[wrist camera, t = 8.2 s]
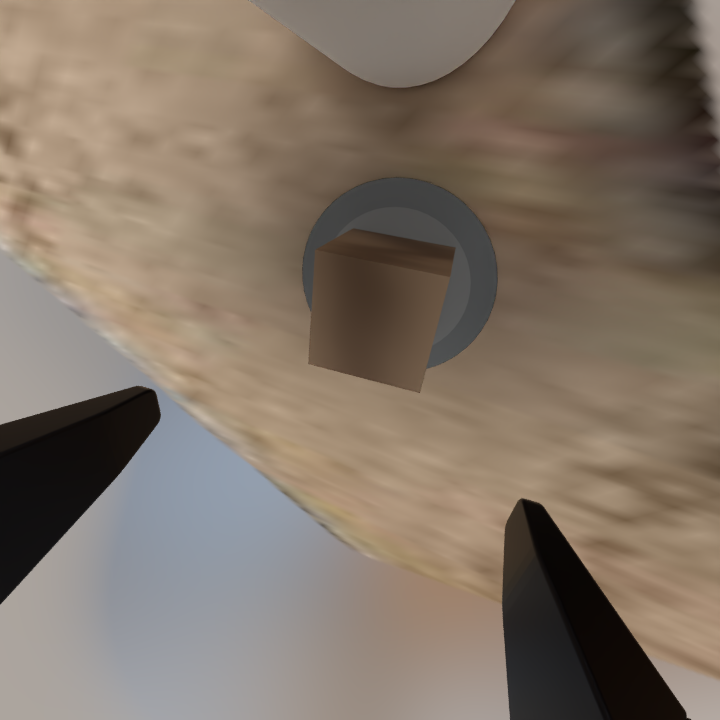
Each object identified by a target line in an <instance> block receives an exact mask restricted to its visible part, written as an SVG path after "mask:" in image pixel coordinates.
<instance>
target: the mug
mask: <svg viewBox="0 0 720 720" xmlns="http://www.w3.org/2000/svg"><path fill="white" fill-rule="evenodd" d="M249 1H250V2H252V3H253V4H255V5H256V6H257V7H259V8H260V9H261V10H263V11H264V12H266V13H267V14H268V15H270V16H271V17H273V18H274V19H275V20H277V21H278V22H280V23H281V24H282V25H284V26H285V27H287V28H288V29H289V30H291V31H292V32H294V33H295V34H296V35H298V36H299V37H301V38H302V39H303V40H305V41H306V42H307V43H309V44H310V45H312V46H313V47H314V48H316V49H317V50H319V51H320V52H321V53H323V54H324V55H326V56H327V57H328V58H330V59H331V60H333V61H334V62H335V63H337V64H338V65H340V66H341V67H342V68H344V69H345V70H347V71H348V72H350V73H351V74H353V75H355V76H357V77H359V78H361V79H363V80H365V81H367V82H370V83H373V84H376V85H379V86H385V87H391V88H407V87H413V86H419V85H423V84H426V83H429V82H432V81H435V80H437V79H439V78H441V77H443V76H445V75H447V74H449V73H451V72H452V71H454V70H455V69H457V68H458V67H459V66H461V65H462V64H464V63H465V62H466V61H467V60H468V59H469V58H471V57H472V56H473V55H474V54H475V53H476V52H477V51H478V50H479V49H480V48H481V47H482V46H483V45H484V44H485V43H486V42H487V41H488V40H489V38H490V37H491V36H492V35H493V34H494V32H495V31H496V30H497V28H498V27H499V26H500V24H501V23H502V22H503V20H504V19H505V17H506V15H507V14H508V12H509V10H510V9H511V7H512V6H513V4H514V2H515V1H516V0H249Z"/></svg>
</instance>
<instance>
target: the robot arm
mask: <svg viewBox="0 0 720 720" xmlns="http://www.w3.org/2000/svg"><path fill="white" fill-rule="evenodd" d="M160 417H161V414H160V408H159V404H158V399H157V395H156V392H155V391H154V390H152V389H149V388H146V387H142V386H135V387H131V388H128V389H124V390H121V391H117V392H114V393H110V394H107V395H103V396H100V397H96V398H93V399H89V400H86V401H82V402H79V403H75V404H72V405H68V406H65V407H61V408H58V409H54V410H50V411H47V412H44V413H40V414H37V415H33V416H30V417H26V418H22V419H19V420H15V421H12V422H8V423H5V424H2V425H0V604H1V603H2V602H3V601H4V600H5V599H6V598H7V597H8V596H9V595H10V594H11V592H12V591H13V590H14V589H15V588H16V587H17V586H18V585H19V584H20V583H21V581H22V580H23V579H24V578H25V577H26V576H27V575H28V574H29V573H30V572H31V571H32V569H33V568H34V567H35V566H36V565H37V564H38V563H39V561H41V559H42V558H43V557H44V556H45V555H46V554H47V553H48V552H49V551H50V550H51V549H52V547H53V546H54V545H55V544H56V543H57V542H58V541H59V540H60V539H61V538H62V536H63V535H64V534H65V533H66V532H67V531H68V530H69V529H70V528H71V527H72V526H73V525H74V523H75V522H76V521H77V520H78V519H79V518H80V517H81V516H82V515H83V514H84V512H85V511H86V510H87V509H88V508H89V507H90V506H91V505H92V504H93V503H94V501H95V500H96V499H97V498H98V497H99V496H100V495H101V494H102V493H103V492H104V491H105V489H106V488H107V487H108V486H109V485H110V484H111V483H112V482H113V481H114V480H115V478H116V477H117V476H118V475H119V474H120V473H121V471H122V470H123V469H124V468H125V466H126V465H127V464H128V462H129V461H130V460H131V459H132V457H133V456H134V455H135V453H136V452H137V451H138V449H139V448H140V446H141V445H142V444H143V443H144V441H145V440H146V439H147V437H148V436H149V435H150V434H151V432H152V431H153V430H154V428H155V427H156V425H157V424H158V423H159V421H160ZM502 611H503V628H504V641H505V655H506V668H507V683H508V697H509V711H510V720H691V719H689V718H686V717H687V715H686V712H685V710H684V708H683V707H682V706H681V704H680V703H679V701H678V700H677V698H676V697H675V695H674V694H673V693H672V691H671V690H670V689H669V687H668V685H667V684H666V683H665V681H664V680H663V678H662V677H661V676H660V674H659V672H658V671H657V670H656V668H655V667H654V665H653V664H652V662H651V661H650V660H649V658H648V657H647V655H646V654H645V652H644V651H643V649H642V648H641V646H640V645H639V644H638V642H637V641H636V639H635V638H634V636H633V635H632V633H631V632H630V631H629V629H628V628H627V626H626V625H625V623H624V622H623V620H622V619H621V618H620V616H619V615H618V613H617V612H616V610H615V609H614V607H613V606H612V605H611V603H610V602H609V600H608V599H607V597H606V596H605V595H604V593H603V592H602V590H601V589H600V587H599V586H598V584H597V583H596V582H595V580H594V579H593V577H592V576H591V574H590V573H589V571H588V570H587V569H586V567H585V566H584V564H583V563H582V561H581V560H580V558H579V557H578V556H577V554H576V553H575V551H574V550H573V548H572V547H571V545H570V544H569V543H568V541H567V540H566V538H565V537H564V535H563V534H562V532H561V531H560V530H559V528H558V527H557V525H556V524H555V522H554V521H553V520H552V518H551V517H550V515H549V514H548V512H547V511H546V509H545V508H544V507H543V506H542V505H541V504H540V503H537V502H534V501H531V500H527V499H520V500H519V501H518V502H517V504H516V506H515V507H514V509H513V511H512V513H511V515H510V517H509V519H508V520H507V523H506V527H505V539H504V565H503V592H502Z"/></svg>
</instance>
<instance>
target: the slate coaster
mask: <svg viewBox="0 0 720 720" xmlns="http://www.w3.org/2000/svg"><path fill="white" fill-rule="evenodd" d="M353 228H354V229H360V230H365V231H370V232H376V233H381V234H386V235H392V236H397V237H402V238H408V239H413V240H418V241H424V242H429V243H434V244H440V245H445V246H450V247H455V248H456V249H455V254H454V259H453V265H452V270H451V276H450V280H449V284H448V288H447V291H446V295H445V299H444V303H443V307H442V310H441V314H440V318H439V322H438V326H437V329H436V333H435V337H434V341H433V345H432V348H431V352H430V356H429V360H428V364H427V367H426V369H427V368H430V367H434V366H436V365H439V364H441V363H444V362H446V361H448V360H449V359H451V358H453V357H455V356H456V355H457V354H459V353H460V352H461V351H463V350H464V349H465V348H466V347H467V346H468V345H469V344H470V343H471V342H472V341H473V340H474V339H475V338H476V337H477V335H478V334H479V333H480V332H481V330H482V328H483V327H484V325H485V323H486V322H487V320H488V318H489V315H490V313H491V310H492V308H493V304H494V300H495V296H496V290H497V265H496V259H495V253H494V250H493V247H492V244H491V241H490V239H489V237H488V235H487V233H486V231H485V229H484V227H483V225H482V224H481V222H480V221H479V220H478V218H477V217H476V215H475V214H474V213H473V212H472V211H471V210H470V209H469V208H468V207H467V206H466V204H464V203H463V202H462V201H461V200H459V199H458V198H457V197H456V196H454V195H453V194H451V193H449V192H448V191H446V190H444V189H442V188H441V187H438V186H436V185H433V184H431V183H428V182H425V181H420V180H416V179H410V178H384V179H379V180H375V181H370V182H367V183H365V184H362V185H359V186H357V187H355V188H353V189H351V190H349V191H348V192H346V193H344V194H343V195H342V196H340V197H339V198H338V199H336V200H335V201H334V202H333V203H332V204H331V205H330V206H329V207H328V208H327V209H326V210H325V211H324V212H323V214H322V215H321V217H320V218H319V219H318V221H317V222H316V224H315V226H314V228H313V230H312V231H311V234H310V236H309V239H308V242H307V244H306V248H305V253H304V258H303V268H302V270H303V285H304V292H305V296H306V299H307V303H308V305H309V308H310V310H311V311H312V294H313V277H314V260H315V250H316V249H317V248H319V247H321V246H323V245H324V244H326V243H328V242H330V241H331V240H333V239H335V238H337V237H339V236H340V235H342V234H344V233H346V232H347V231H349V230H351V229H353Z"/></svg>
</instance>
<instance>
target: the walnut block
mask: <svg viewBox="0 0 720 720" xmlns="http://www.w3.org/2000/svg"><path fill="white" fill-rule="evenodd" d="M455 249H456V248H455V247H450V246H445V245H440V244H434V243H429V242H424V241H418V240H413V239H408V238H402V237H397V236H392V235H386V234H381V233H376V232H370V231H365V230H360V229H354V228H353V229H351V230H349V231H347V232H346V233H344V234H342V235H340V236H339V237H337V238H335V239H333V240H331V241H330V242H328V243H326V244H324V245H323V246H321V247H319V248H317V249H316V250H315V260H314V277H313V294H312V311H311V328H310V345H309V362H308V364H311V365H314V366H318V367H322V368H326V369H330V370H334V371H338V372H341V373H345V374H349V375H353V376H357V377H361V378H364V379H368V380H372V381H376V382H380V383H384V384H388V385H391V386H395V387H399V388H403V389H407V390H411V391H415V392H418V393H420V390H421V386H422V383H423V379H424V375H425V371H426V367H427V364H428V360H429V356H430V352H431V348H432V345H433V341H434V337H435V333H436V329H437V326H438V322H439V318H440V314H441V310H442V307H443V303H444V299H445V295H446V291H447V288H448V284H449V280H450V276H451V270H452V265H453V259H454V254H455Z"/></svg>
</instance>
